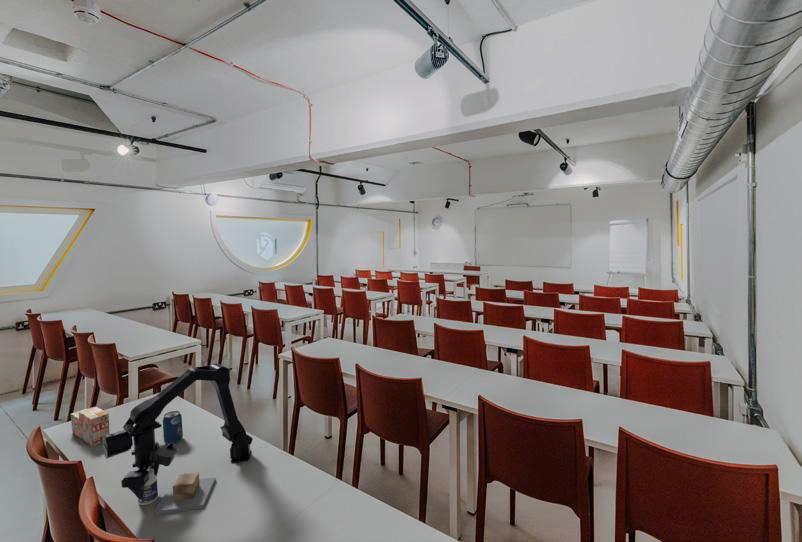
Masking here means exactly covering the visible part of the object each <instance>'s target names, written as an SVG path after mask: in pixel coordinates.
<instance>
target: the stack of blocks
mask: <svg viewBox="0 0 802 542" xmlns="http://www.w3.org/2000/svg"><path fill="white" fill-rule="evenodd" d="M69 416H70V421H71V431H72V434H73V433H74V436H76V435H77V436H78V438H79V437H80V438H81V439H80V438H79V439H80V440H82V439H83V440H82V441H84V440H85V441H86V443H87V444H88V443H89V444H88V445H90V446H91V445H92V446H91V447H93V446H94V447H96V446H98V445H97V444H99V445H100V443H101V444H103V443H104V436H105V435H108V434H111V433H110V414H109V412H107V411H106V410H104V409H101V408H100V407H97V406H93V407H90V408H85V409H81V410H78V411H75V412H72V413H70V415H69ZM77 436H76V437H77ZM85 441H84V442H85ZM102 442H103V443H102ZM95 445H96V446H95Z"/></svg>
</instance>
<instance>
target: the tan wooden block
mask: <svg viewBox="0 0 802 542" xmlns="http://www.w3.org/2000/svg"><path fill="white" fill-rule="evenodd" d="M199 479H200V472H192V473H191V472H190V473H182V474H179V475H178V477H177V479H176V480H175V481H174V482H175V483H174V482H173V483H174V485H173V500H174V501H175V500H182V499H190V498H194V496H195V494H196V492H197V490H198V488H199V486H200V484H199Z"/></svg>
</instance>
